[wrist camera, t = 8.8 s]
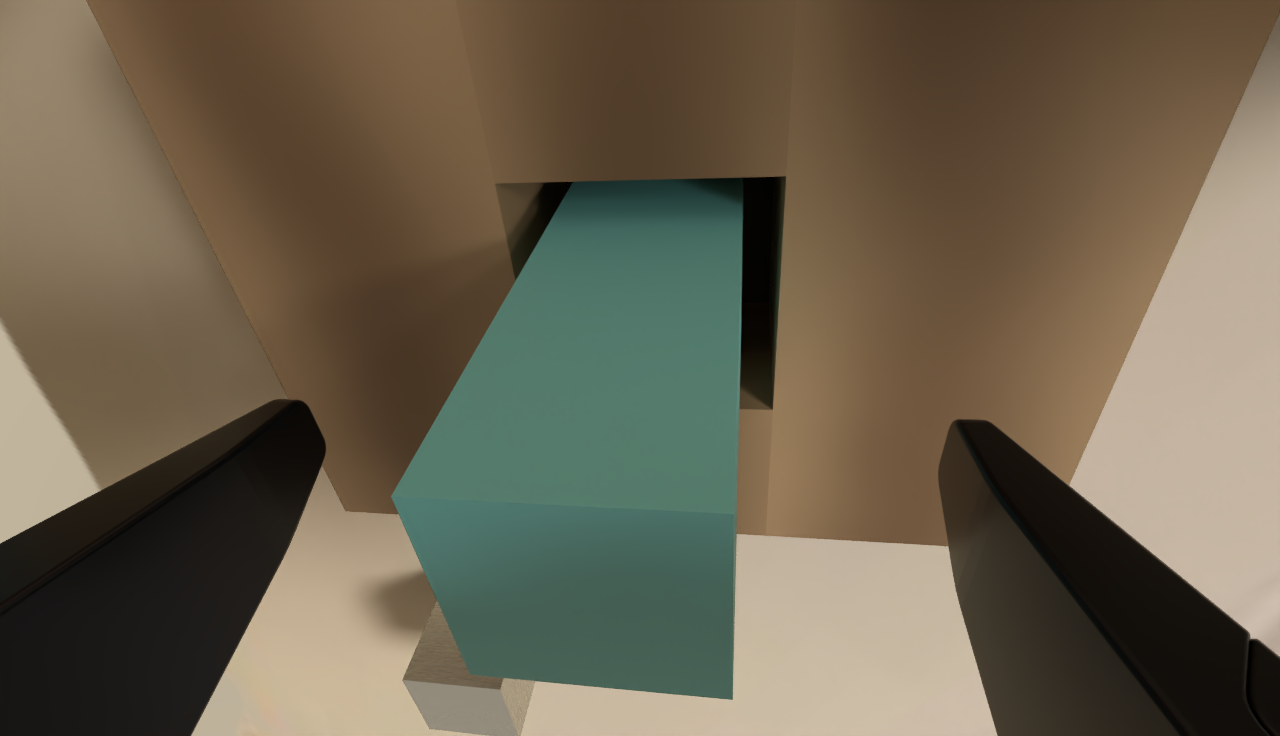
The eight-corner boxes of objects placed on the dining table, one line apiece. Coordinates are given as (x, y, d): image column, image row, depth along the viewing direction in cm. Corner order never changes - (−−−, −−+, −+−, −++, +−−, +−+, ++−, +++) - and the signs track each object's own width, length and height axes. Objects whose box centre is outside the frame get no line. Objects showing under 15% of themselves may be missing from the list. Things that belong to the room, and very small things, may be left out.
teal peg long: (744, 140, 14) (733, 513, 6) (742, 277, 15) (732, 699, 8) (593, 146, 14) (390, 496, 6) (610, 278, 16) (470, 674, 8)
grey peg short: (538, 566, 24) (499, 690, 20) (552, 617, 25) (519, 738, 22) (453, 560, 24) (402, 680, 21) (473, 611, 26) (429, 728, 22)
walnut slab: (1172, -167, 10) (1367, -186, 7) (986, 425, 17) (1039, 550, 14) (232, -78, 12) (54, -62, 9) (411, 407, 20) (345, 511, 16)
